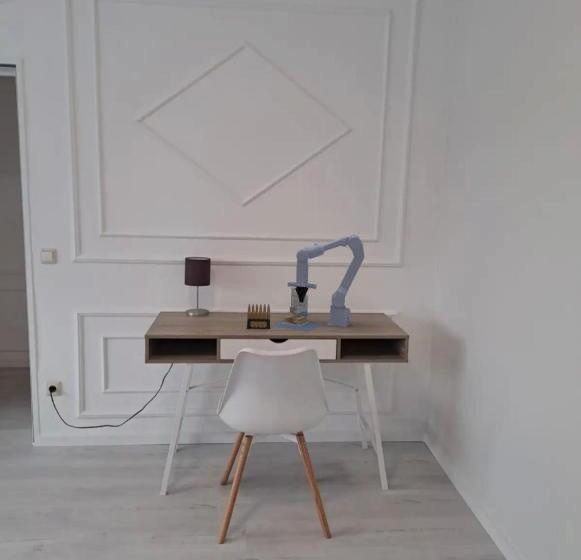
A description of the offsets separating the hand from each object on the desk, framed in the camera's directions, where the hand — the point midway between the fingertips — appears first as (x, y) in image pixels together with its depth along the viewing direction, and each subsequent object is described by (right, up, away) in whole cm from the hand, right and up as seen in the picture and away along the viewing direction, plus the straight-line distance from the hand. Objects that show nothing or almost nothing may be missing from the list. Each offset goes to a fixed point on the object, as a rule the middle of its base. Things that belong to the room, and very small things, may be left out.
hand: (301, 302), depth 251 cm
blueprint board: (-2, -11, -5) cm, 12 cm away
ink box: (-1, -8, +19) cm, 20 cm away
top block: (-3, -7, -1) cm, 8 cm away
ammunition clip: (-20, -12, -14) cm, 27 cm away
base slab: (-3, -10, 0) cm, 10 cm away
